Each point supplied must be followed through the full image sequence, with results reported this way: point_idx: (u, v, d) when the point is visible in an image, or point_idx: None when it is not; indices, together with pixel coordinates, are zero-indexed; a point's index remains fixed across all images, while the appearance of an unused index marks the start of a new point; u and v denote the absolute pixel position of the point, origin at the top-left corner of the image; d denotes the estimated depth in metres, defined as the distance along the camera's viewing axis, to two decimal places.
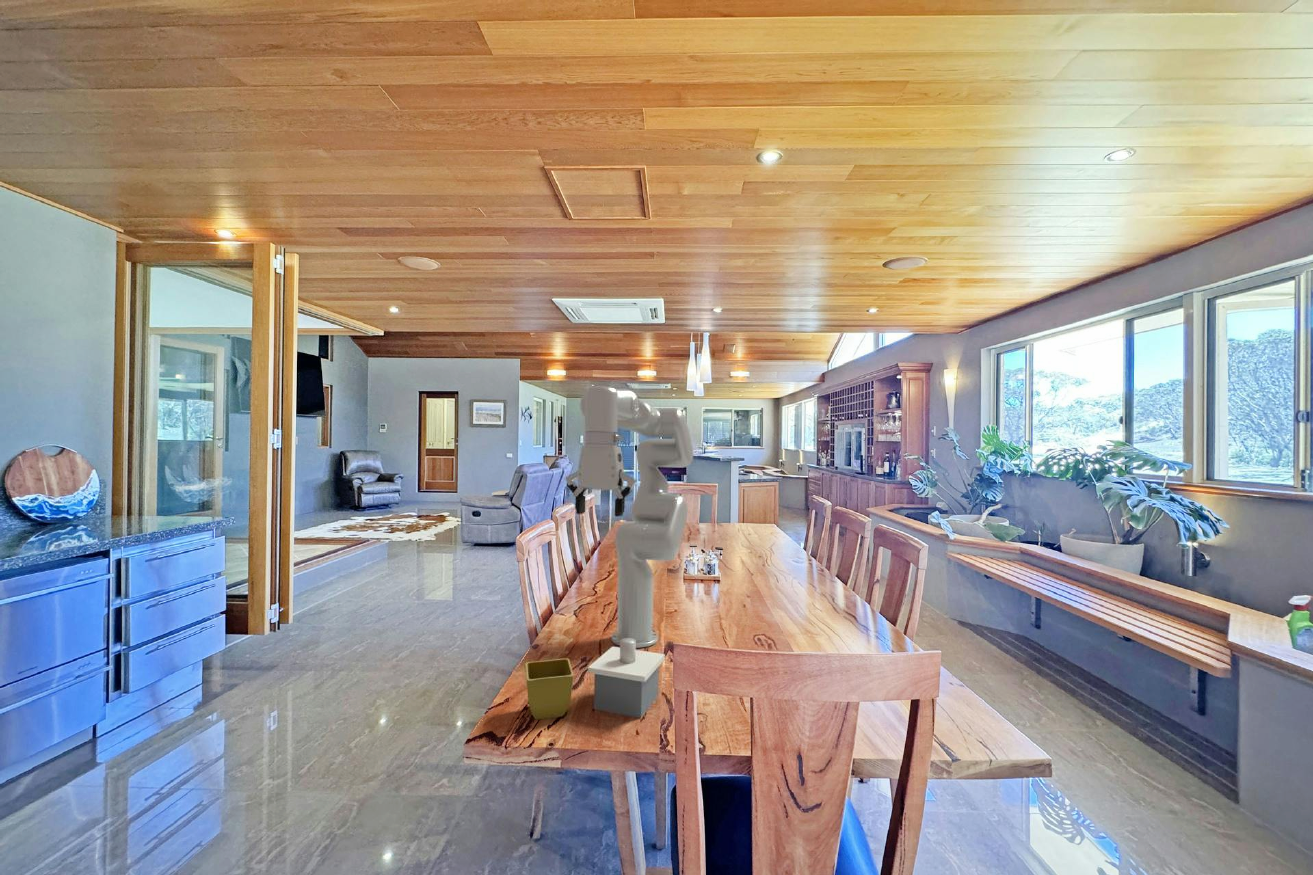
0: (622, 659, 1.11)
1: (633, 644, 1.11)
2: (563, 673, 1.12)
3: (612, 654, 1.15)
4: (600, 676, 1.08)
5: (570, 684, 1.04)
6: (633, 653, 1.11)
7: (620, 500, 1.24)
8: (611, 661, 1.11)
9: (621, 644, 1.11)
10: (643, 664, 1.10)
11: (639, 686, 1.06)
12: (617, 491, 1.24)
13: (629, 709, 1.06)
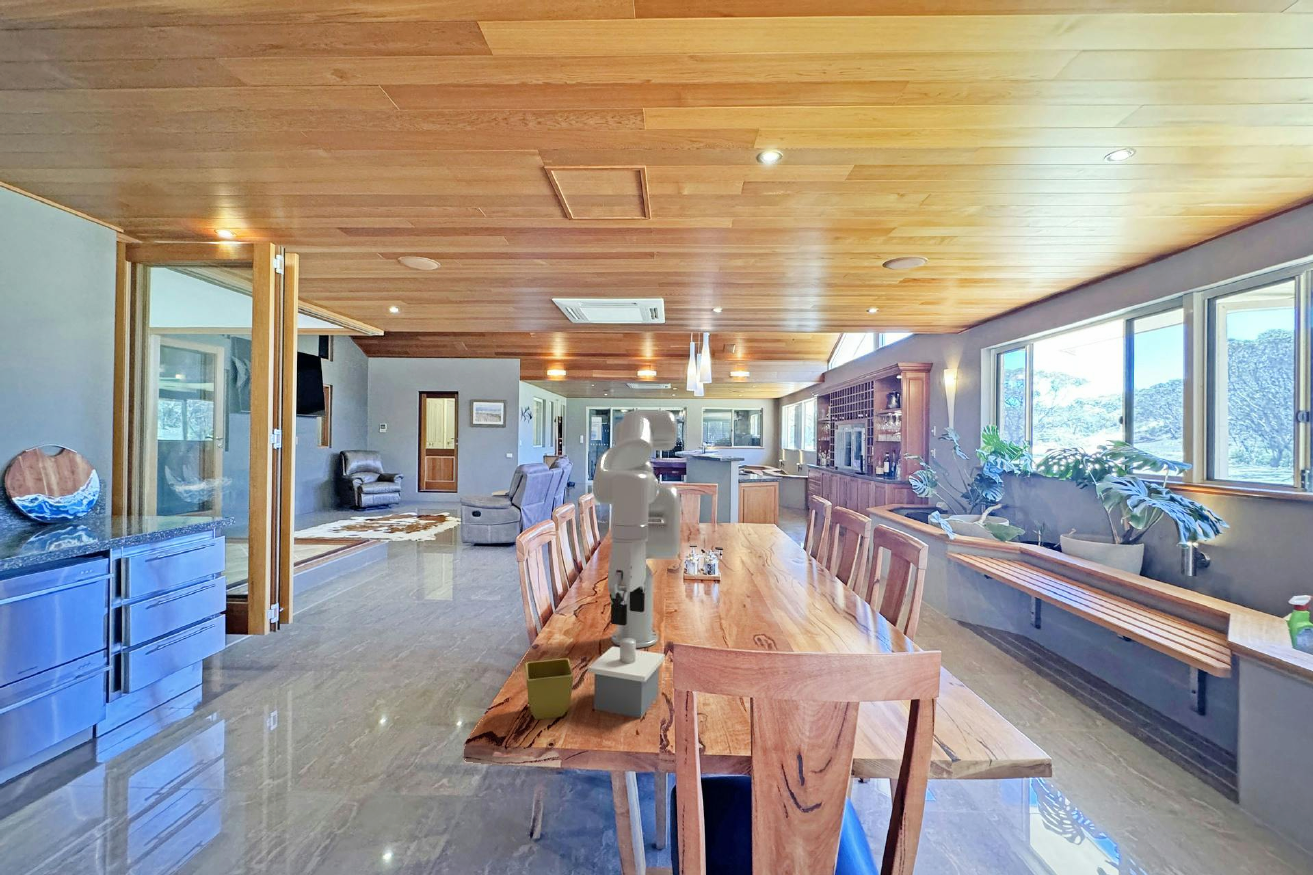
0: (622, 659, 1.11)
1: (633, 644, 1.11)
2: (563, 673, 1.12)
3: (612, 654, 1.15)
4: (600, 676, 1.08)
5: (570, 684, 1.04)
6: (633, 653, 1.11)
7: None
8: (611, 661, 1.11)
9: (621, 644, 1.11)
10: (643, 664, 1.10)
11: (639, 686, 1.06)
12: (643, 584, 1.16)
13: (629, 709, 1.06)
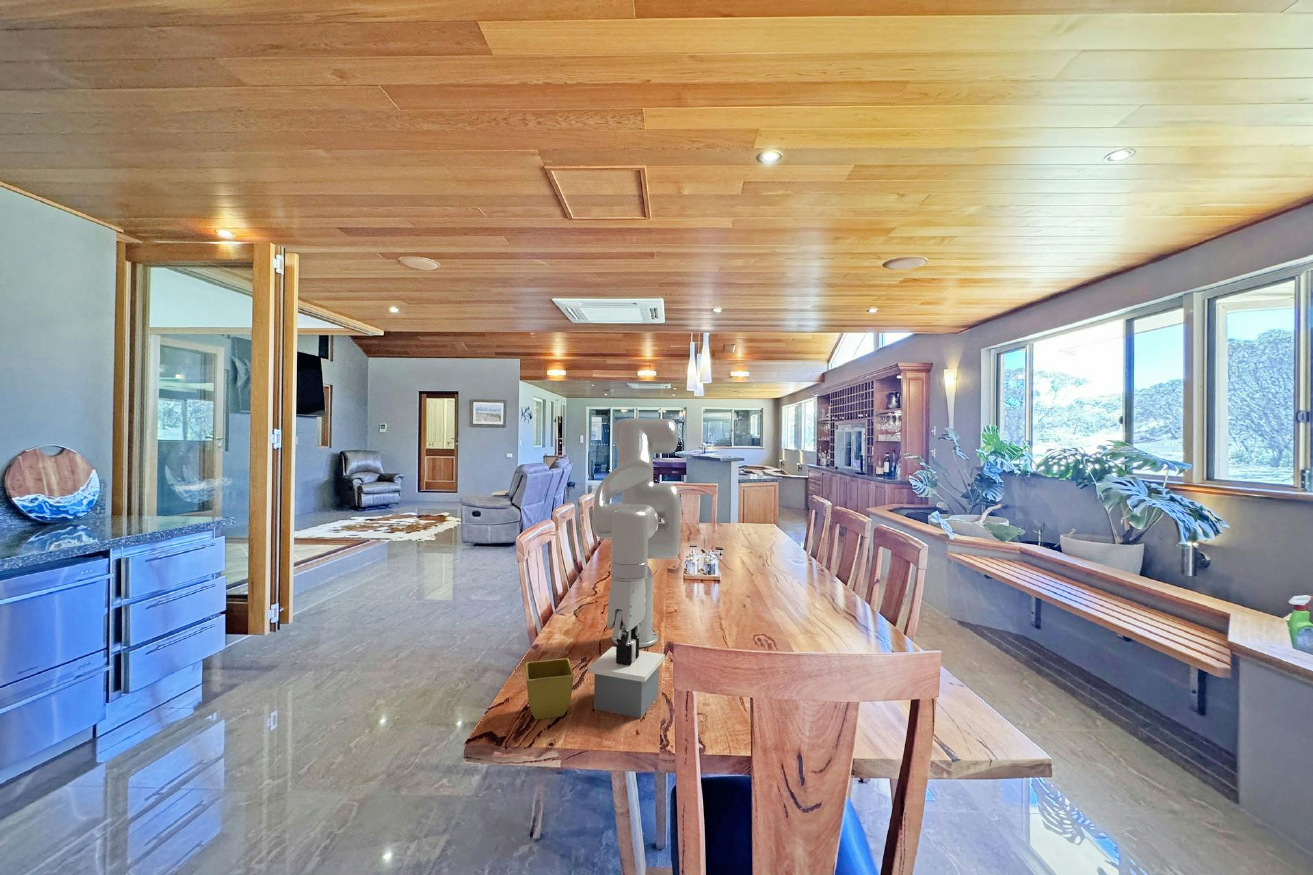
0: None
1: (633, 644, 1.11)
2: (563, 673, 1.12)
3: (612, 654, 1.15)
4: (600, 676, 1.08)
5: (570, 684, 1.04)
6: (633, 653, 1.11)
7: None
8: (611, 661, 1.11)
9: None
10: (643, 664, 1.10)
11: (639, 686, 1.06)
12: (639, 628, 1.14)
13: (629, 709, 1.06)
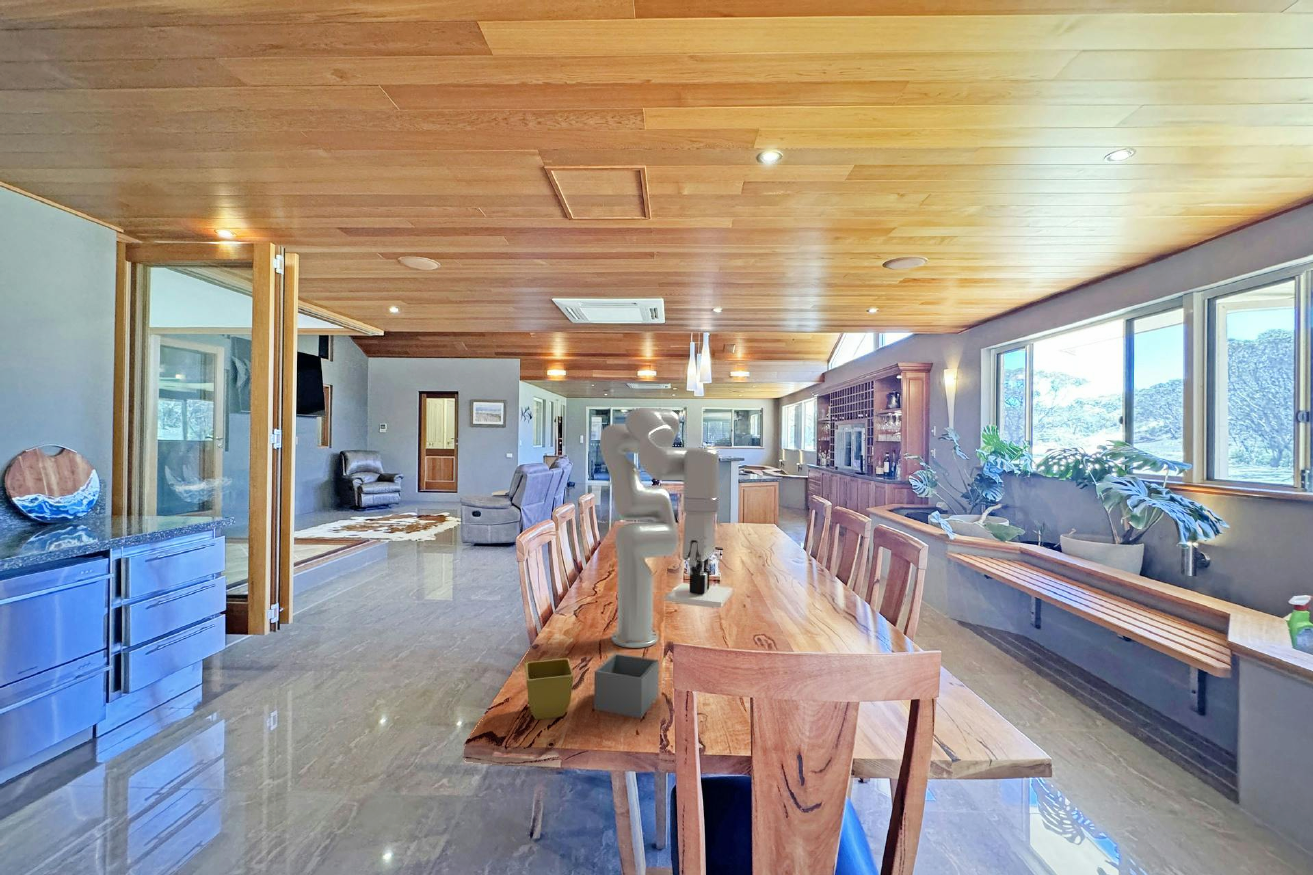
0: None
1: (705, 576, 1.17)
2: (563, 673, 1.12)
3: (683, 587, 1.21)
4: (600, 676, 1.08)
5: (570, 684, 1.04)
6: (705, 584, 1.17)
7: (706, 572, 1.21)
8: (685, 592, 1.18)
9: None
10: (715, 594, 1.17)
11: (639, 686, 1.06)
12: (708, 562, 1.21)
13: (629, 709, 1.06)
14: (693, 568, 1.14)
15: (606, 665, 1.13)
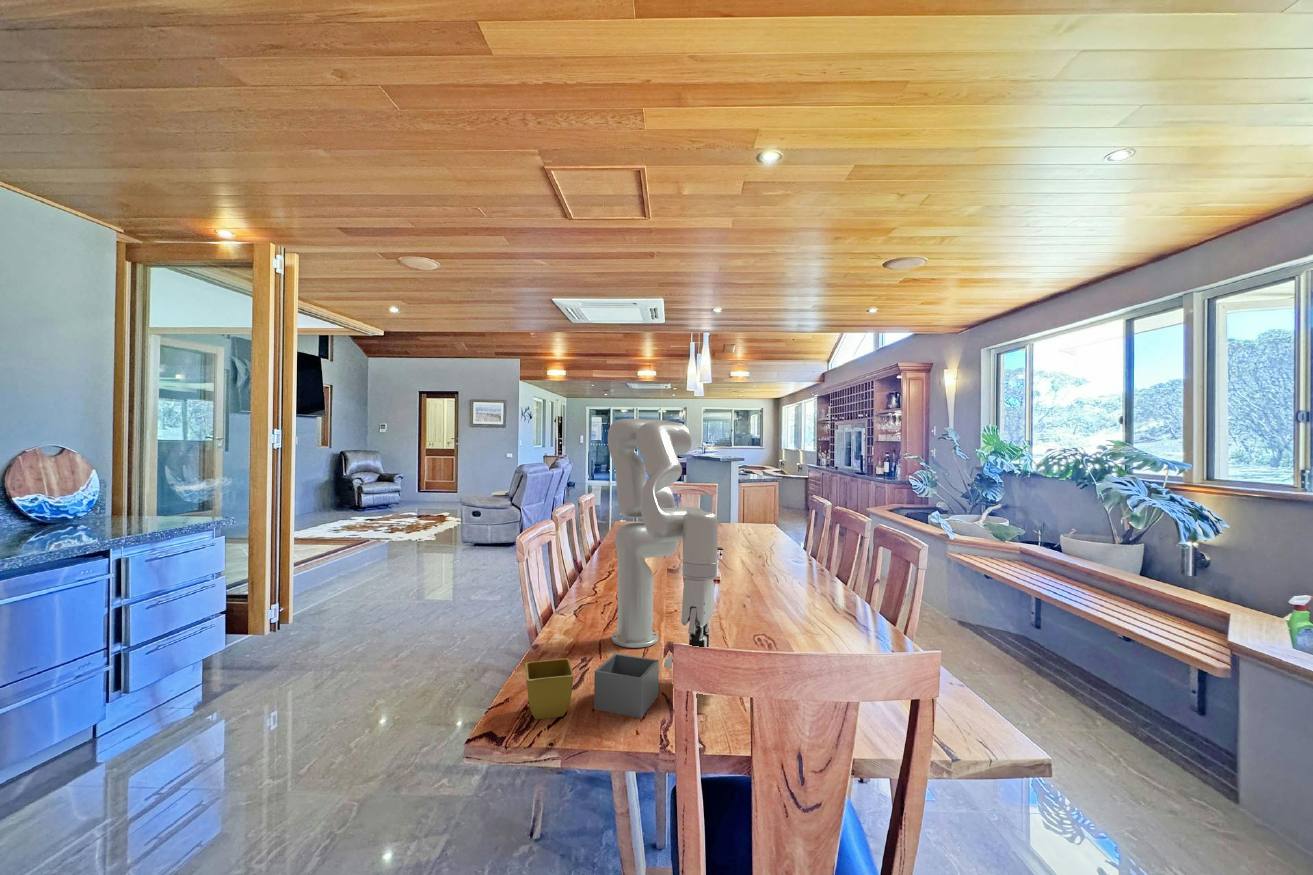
0: None
1: (705, 640, 1.17)
2: (563, 673, 1.12)
3: None
4: (600, 676, 1.08)
5: (570, 684, 1.04)
6: None
7: None
8: None
9: None
10: None
11: (639, 686, 1.06)
12: (708, 625, 1.20)
13: (629, 709, 1.06)
14: (692, 634, 1.13)
15: (606, 665, 1.13)
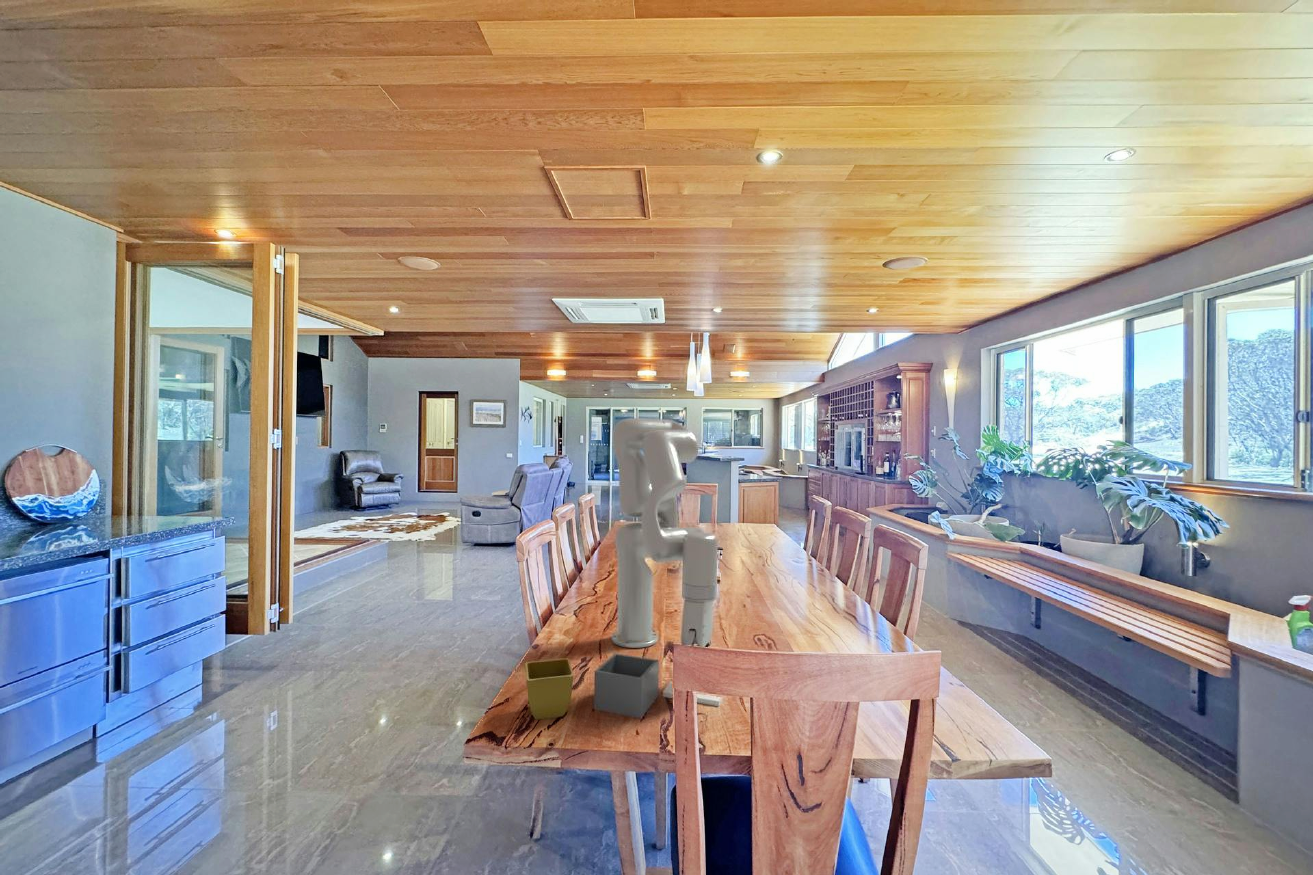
0: None
1: None
2: (563, 673, 1.12)
3: None
4: (600, 676, 1.08)
5: (570, 684, 1.04)
6: None
7: None
8: None
9: None
10: None
11: (639, 686, 1.06)
12: (709, 639, 1.22)
13: (629, 709, 1.06)
14: None
15: (606, 665, 1.13)
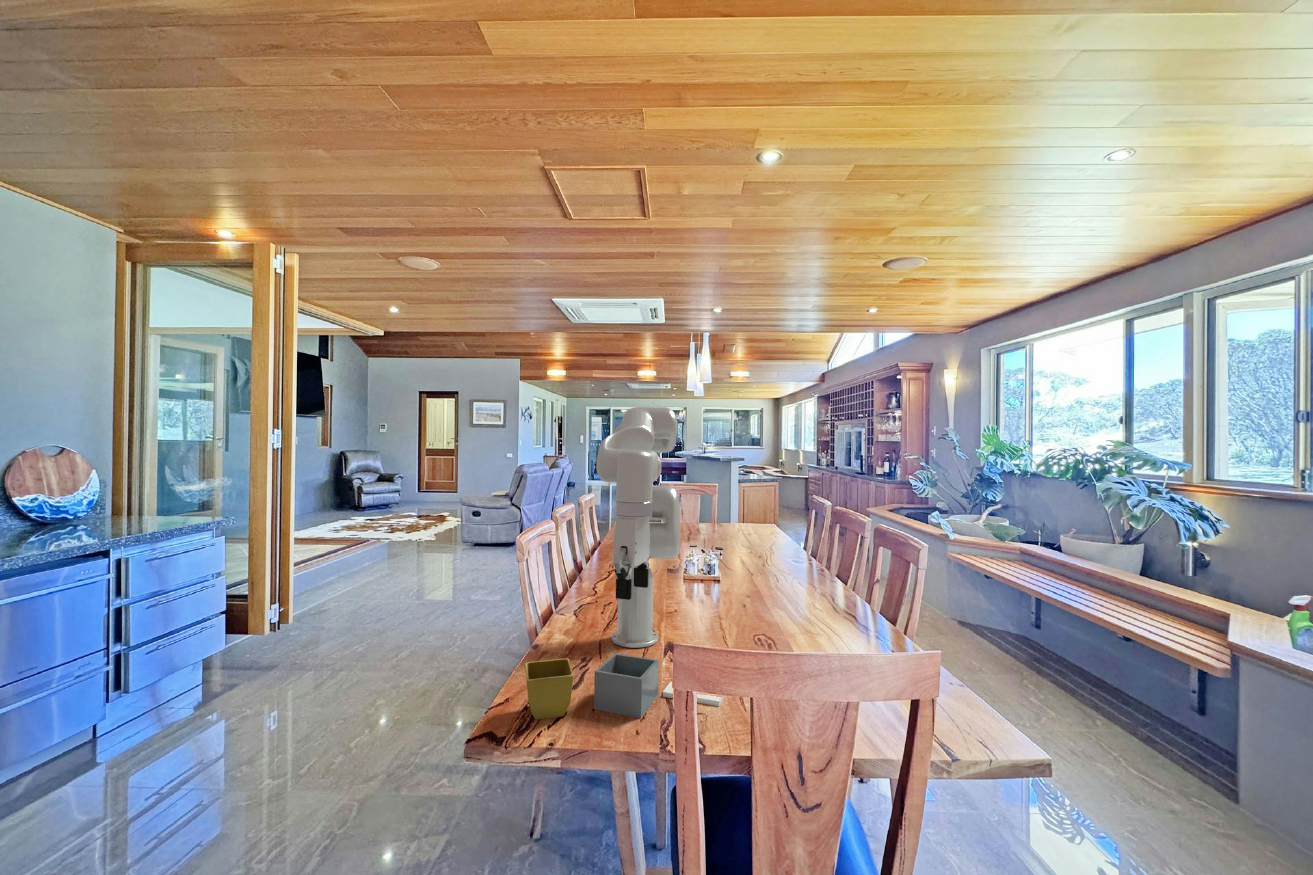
0: None
1: None
2: (563, 673, 1.12)
3: None
4: (600, 676, 1.08)
5: (570, 684, 1.04)
6: None
7: None
8: None
9: None
10: None
11: (639, 686, 1.06)
12: (647, 561, 1.18)
13: (629, 709, 1.06)
14: (617, 569, 1.06)
15: (606, 665, 1.13)
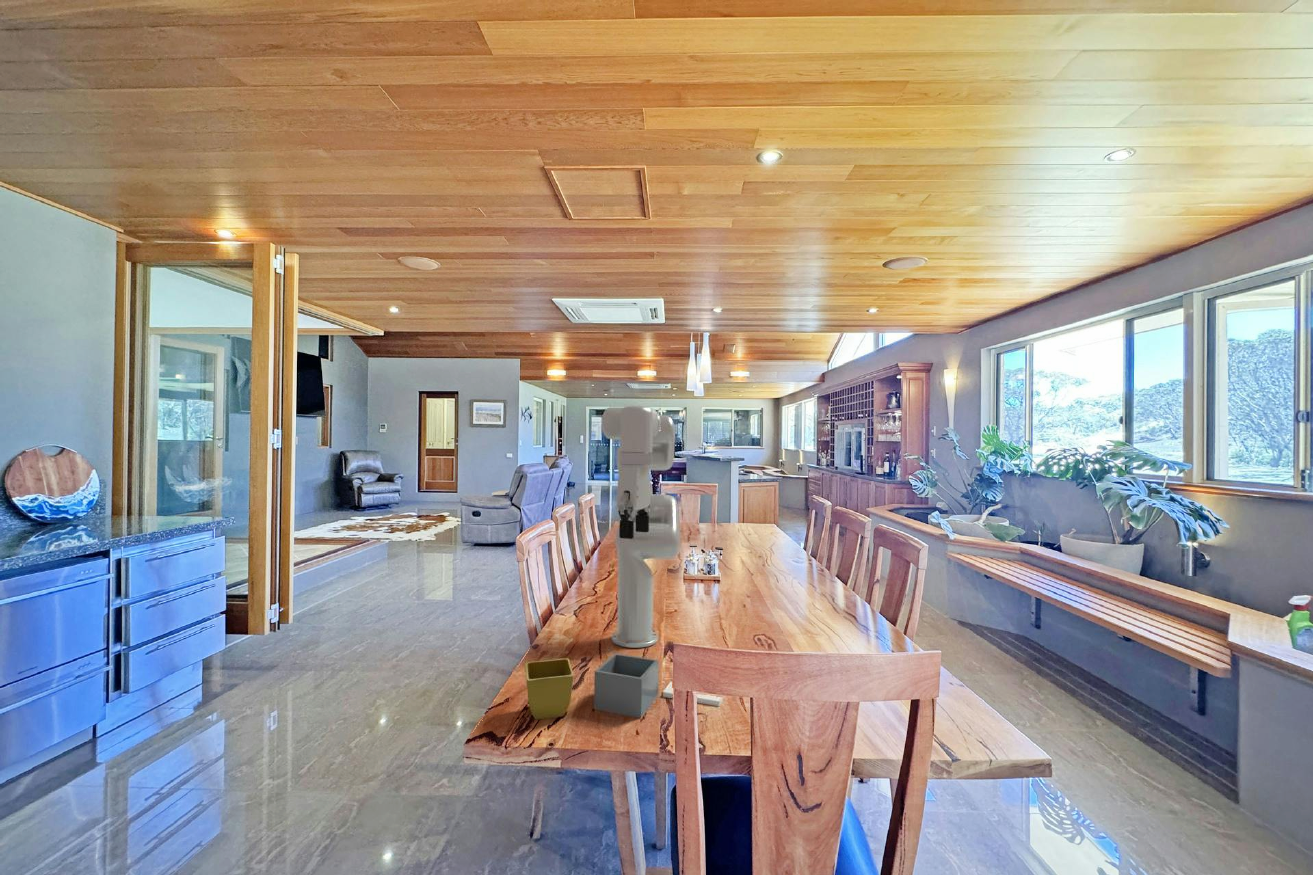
0: None
1: None
2: (563, 673, 1.12)
3: None
4: (600, 676, 1.08)
5: (570, 684, 1.04)
6: None
7: None
8: None
9: None
10: None
11: (639, 686, 1.06)
12: (647, 508, 1.30)
13: (629, 709, 1.06)
14: (621, 510, 1.18)
15: (606, 665, 1.13)
